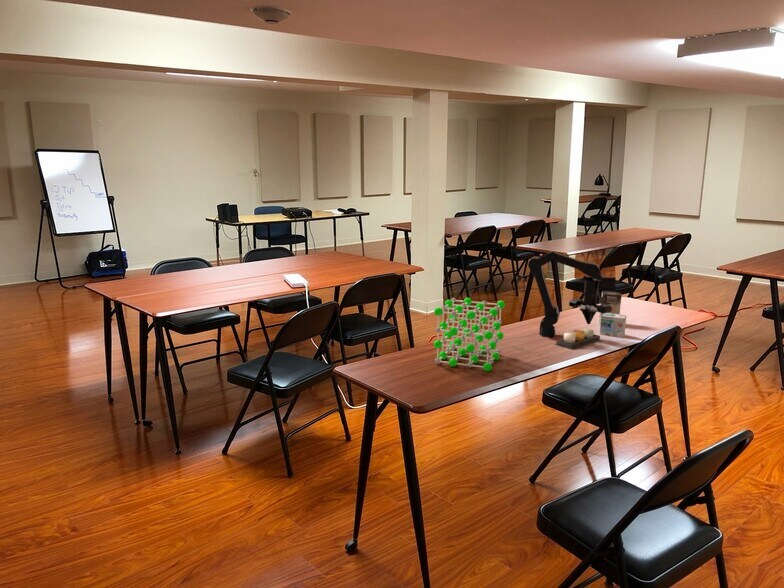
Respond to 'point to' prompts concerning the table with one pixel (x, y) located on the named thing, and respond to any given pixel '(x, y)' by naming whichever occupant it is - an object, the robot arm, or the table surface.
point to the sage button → (588, 333)
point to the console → (578, 342)
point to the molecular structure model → (469, 332)
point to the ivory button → (569, 338)
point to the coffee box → (612, 302)
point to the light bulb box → (613, 324)
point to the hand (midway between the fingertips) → (588, 324)
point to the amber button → (579, 335)
